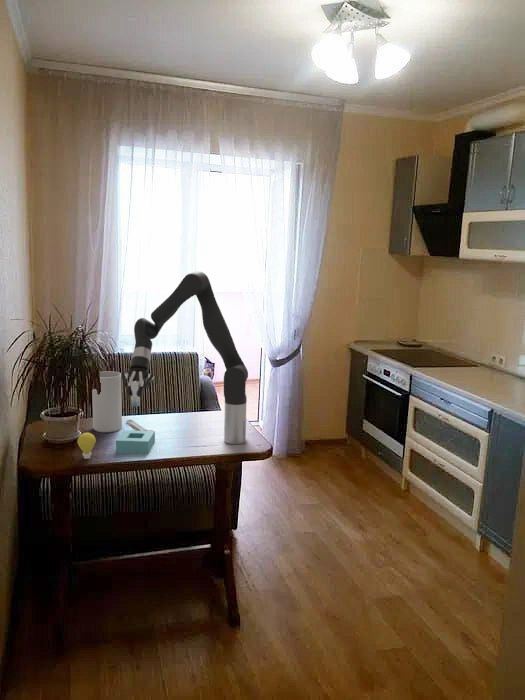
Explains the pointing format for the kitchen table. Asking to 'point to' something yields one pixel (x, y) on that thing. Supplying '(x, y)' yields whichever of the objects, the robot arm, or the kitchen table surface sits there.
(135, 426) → the adjustable wrench
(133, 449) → the socket block
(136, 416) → the kitchen table surface
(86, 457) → the light bulb
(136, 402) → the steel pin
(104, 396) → the cylinder vase
